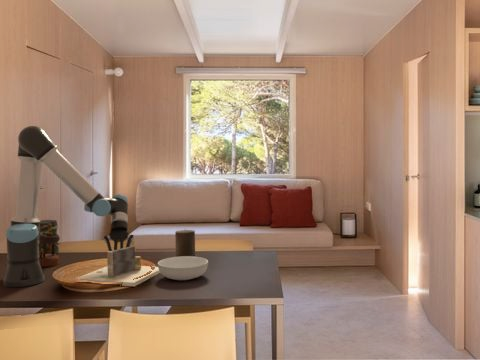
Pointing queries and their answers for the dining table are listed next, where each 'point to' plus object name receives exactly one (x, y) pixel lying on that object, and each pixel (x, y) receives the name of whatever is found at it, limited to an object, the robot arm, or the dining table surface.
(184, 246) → the pillar candle
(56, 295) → the dining table surface
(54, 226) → the camouflage backpack
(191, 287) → the dining table surface
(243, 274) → the dining table surface
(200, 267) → the serving bowl
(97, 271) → the board
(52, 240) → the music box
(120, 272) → the peg head
